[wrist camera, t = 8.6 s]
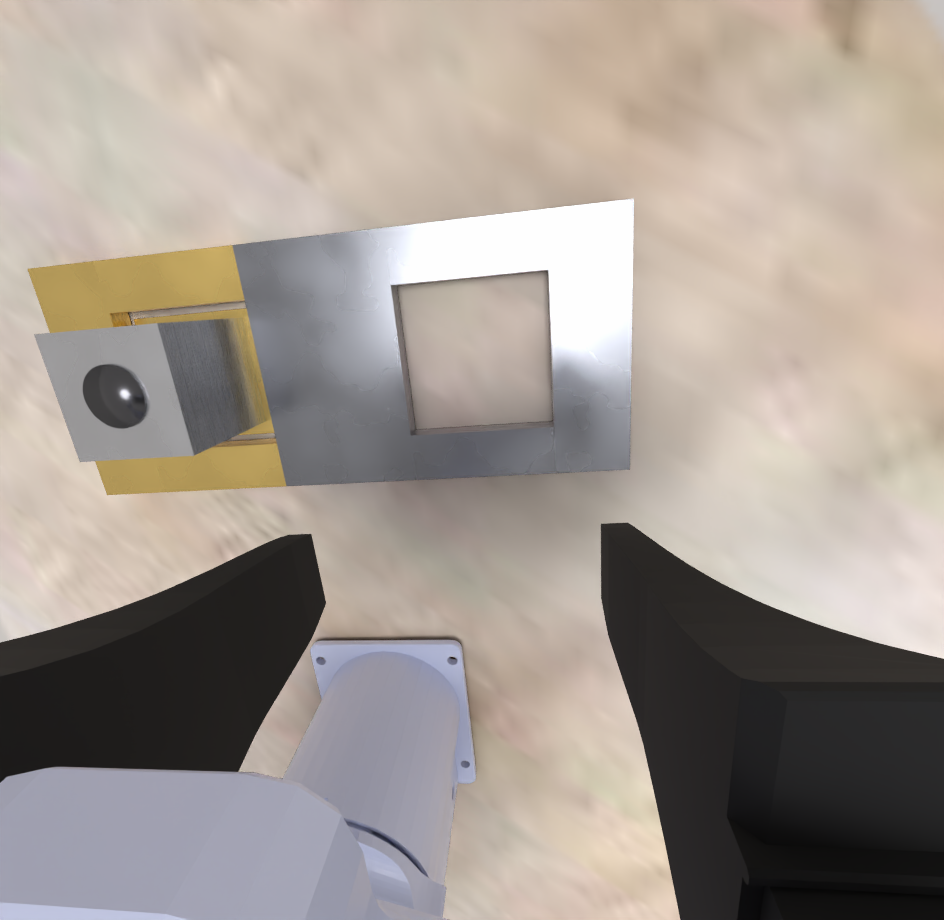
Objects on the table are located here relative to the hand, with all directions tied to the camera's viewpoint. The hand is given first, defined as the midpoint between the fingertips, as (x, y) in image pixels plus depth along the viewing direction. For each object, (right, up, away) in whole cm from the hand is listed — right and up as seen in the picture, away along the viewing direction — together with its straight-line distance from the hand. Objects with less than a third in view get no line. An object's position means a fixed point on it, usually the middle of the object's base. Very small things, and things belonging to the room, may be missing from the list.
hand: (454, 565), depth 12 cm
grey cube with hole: (-11, +6, +9) cm, 16 cm away
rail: (-5, +7, +9) cm, 12 cm away
